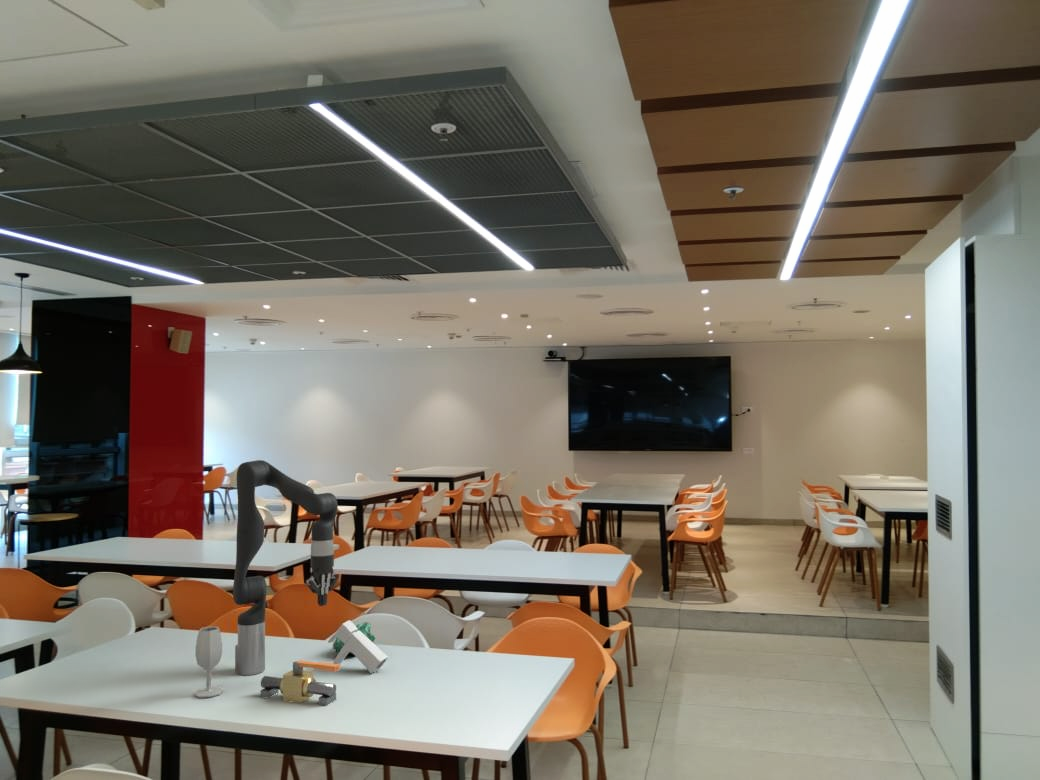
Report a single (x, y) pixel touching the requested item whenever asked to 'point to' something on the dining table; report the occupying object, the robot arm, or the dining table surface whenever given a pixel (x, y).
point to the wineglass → (208, 657)
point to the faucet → (358, 647)
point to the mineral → (362, 627)
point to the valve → (298, 687)
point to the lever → (314, 666)
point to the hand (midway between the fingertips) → (322, 605)
